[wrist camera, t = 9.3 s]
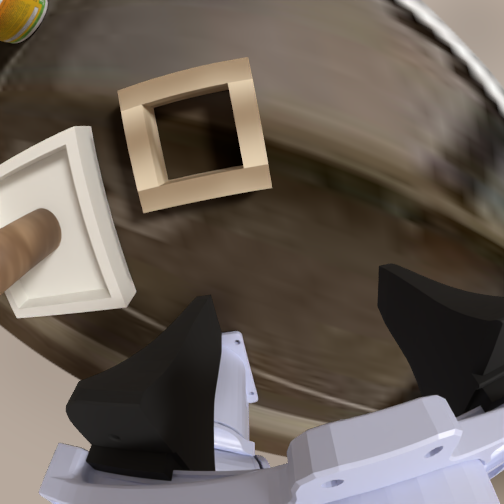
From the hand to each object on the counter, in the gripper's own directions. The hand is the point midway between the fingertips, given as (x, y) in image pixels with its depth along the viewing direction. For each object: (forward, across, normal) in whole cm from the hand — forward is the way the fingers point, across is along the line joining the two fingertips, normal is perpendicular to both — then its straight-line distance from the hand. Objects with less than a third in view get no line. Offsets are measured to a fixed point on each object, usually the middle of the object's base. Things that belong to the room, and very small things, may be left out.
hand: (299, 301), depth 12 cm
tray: (+10, +19, -4) cm, 22 cm away
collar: (+10, +4, -8) cm, 14 cm away
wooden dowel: (+10, +19, -4) cm, 22 cm away
